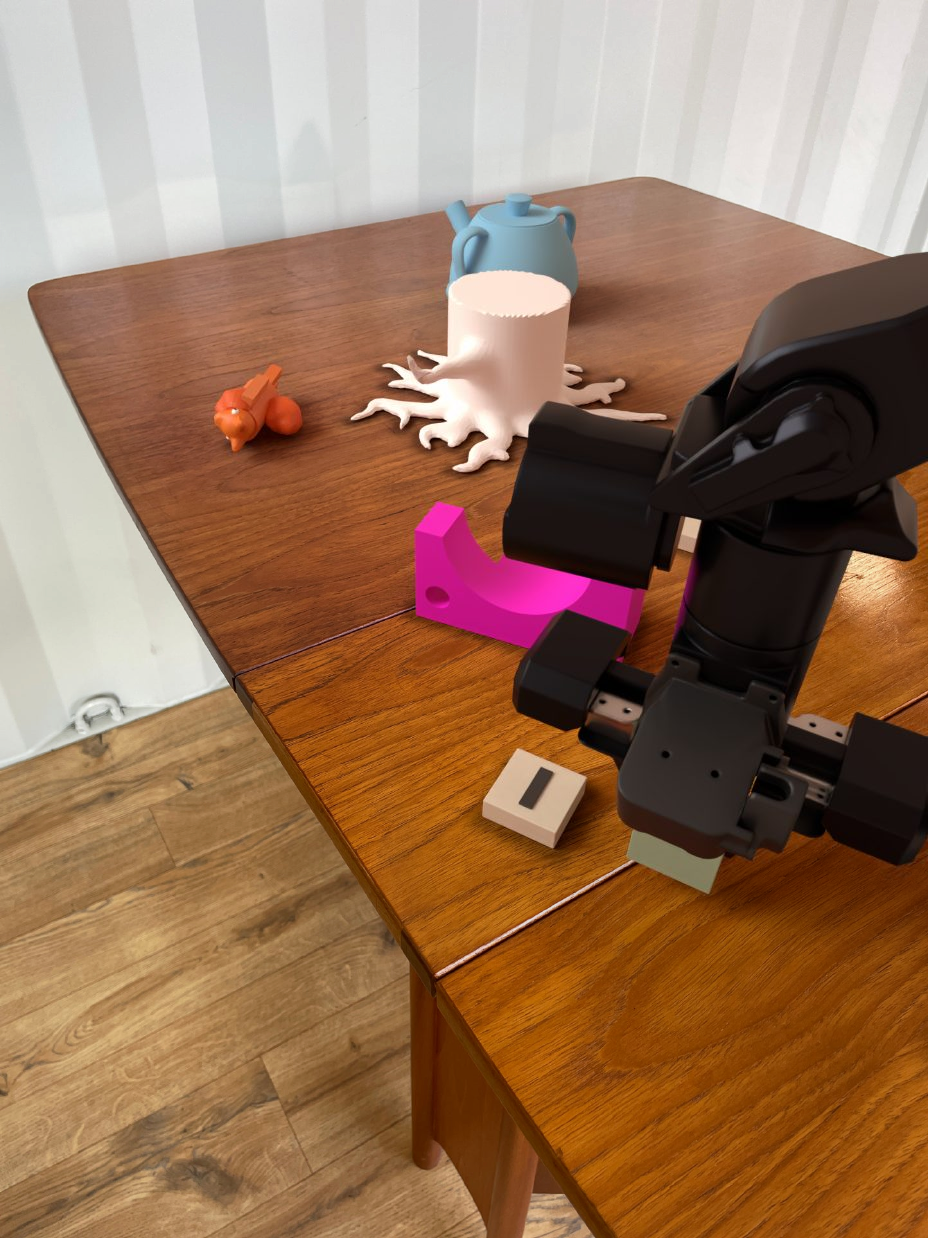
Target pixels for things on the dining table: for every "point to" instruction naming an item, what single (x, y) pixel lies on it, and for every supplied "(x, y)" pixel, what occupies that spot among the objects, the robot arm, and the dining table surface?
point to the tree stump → (498, 365)
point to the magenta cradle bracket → (503, 586)
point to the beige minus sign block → (534, 797)
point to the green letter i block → (673, 861)
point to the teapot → (514, 240)
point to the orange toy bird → (256, 409)
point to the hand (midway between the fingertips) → (683, 832)
